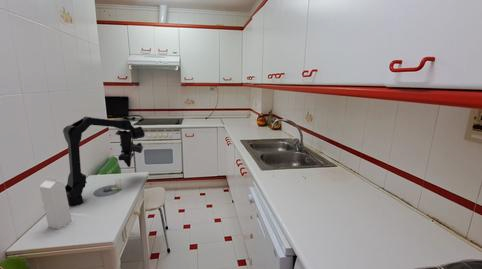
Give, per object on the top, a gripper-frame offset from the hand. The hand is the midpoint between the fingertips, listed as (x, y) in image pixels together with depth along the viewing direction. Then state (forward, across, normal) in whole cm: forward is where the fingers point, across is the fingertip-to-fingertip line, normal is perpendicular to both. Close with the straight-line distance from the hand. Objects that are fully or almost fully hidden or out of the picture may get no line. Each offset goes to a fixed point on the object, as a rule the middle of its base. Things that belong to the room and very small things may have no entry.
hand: (129, 166), depth 141 cm
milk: (+11, -35, +23) cm, 44 cm away
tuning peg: (+10, -8, +8) cm, 15 cm away
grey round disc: (+11, -8, +11) cm, 17 cm away
